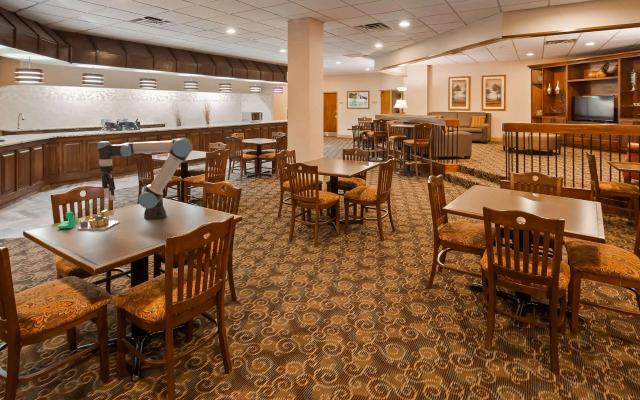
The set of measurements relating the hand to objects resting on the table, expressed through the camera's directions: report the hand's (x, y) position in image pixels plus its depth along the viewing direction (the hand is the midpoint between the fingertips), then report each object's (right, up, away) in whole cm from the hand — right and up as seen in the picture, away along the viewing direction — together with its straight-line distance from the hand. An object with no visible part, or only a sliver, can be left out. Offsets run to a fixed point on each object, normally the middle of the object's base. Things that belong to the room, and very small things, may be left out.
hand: (109, 198), depth 269 cm
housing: (-6, -18, -2) cm, 19 cm away
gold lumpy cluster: (-6, -16, 0) cm, 17 cm away
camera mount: (-26, -19, -4) cm, 32 cm away
